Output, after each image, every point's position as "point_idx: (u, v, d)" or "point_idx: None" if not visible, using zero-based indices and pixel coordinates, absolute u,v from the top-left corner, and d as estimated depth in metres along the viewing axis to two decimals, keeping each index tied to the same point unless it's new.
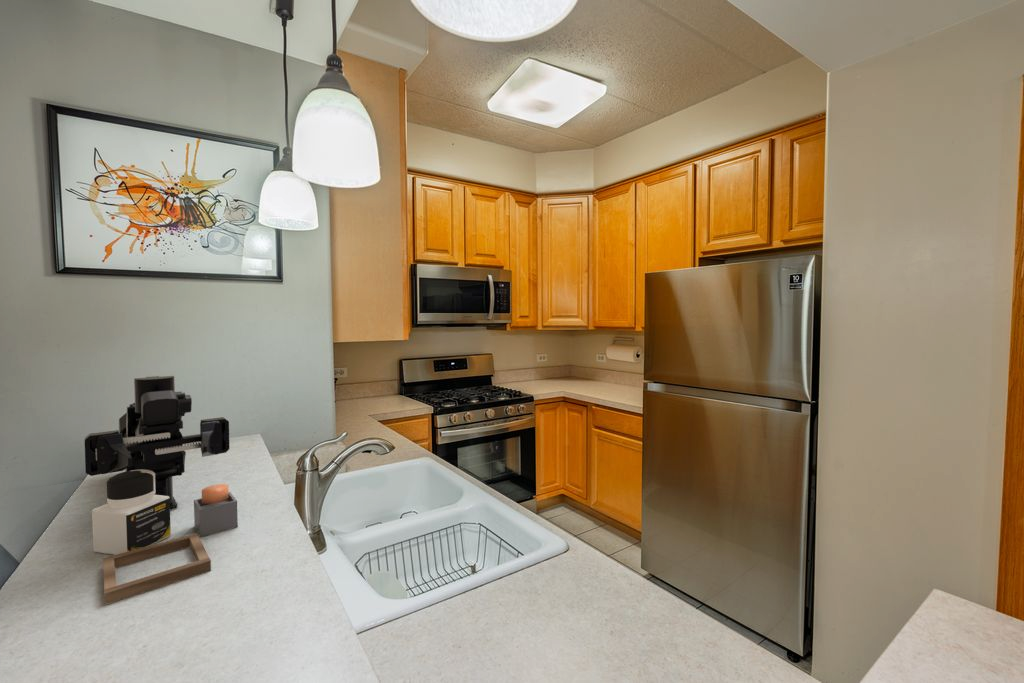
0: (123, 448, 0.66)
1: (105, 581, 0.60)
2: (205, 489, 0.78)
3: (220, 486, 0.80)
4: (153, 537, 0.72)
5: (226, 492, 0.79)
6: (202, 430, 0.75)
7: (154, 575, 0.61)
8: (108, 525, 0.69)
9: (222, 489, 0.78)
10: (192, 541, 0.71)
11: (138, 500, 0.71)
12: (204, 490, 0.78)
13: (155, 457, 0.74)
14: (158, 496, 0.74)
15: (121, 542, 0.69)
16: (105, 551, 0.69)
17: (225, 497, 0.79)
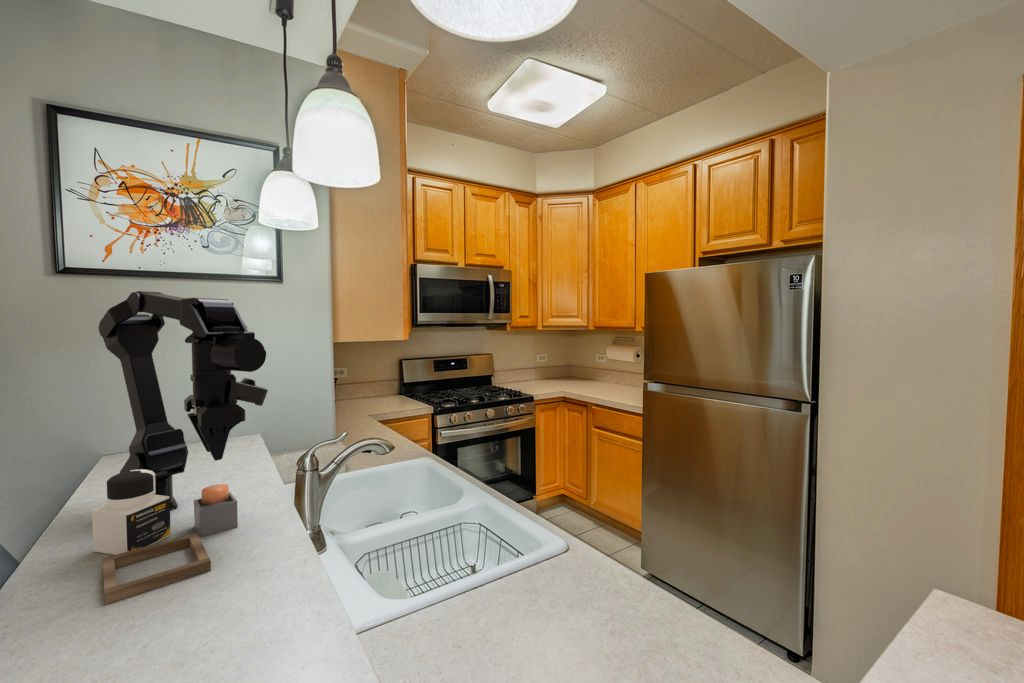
0: None
1: (105, 581, 0.60)
2: (205, 489, 0.78)
3: (220, 486, 0.80)
4: (153, 537, 0.72)
5: (226, 492, 0.79)
6: None
7: (154, 575, 0.61)
8: (109, 525, 0.69)
9: (222, 489, 0.78)
10: (192, 541, 0.71)
11: (138, 500, 0.71)
12: (204, 490, 0.78)
13: None
14: (158, 496, 0.74)
15: (121, 542, 0.69)
16: (105, 551, 0.69)
17: (225, 497, 0.79)
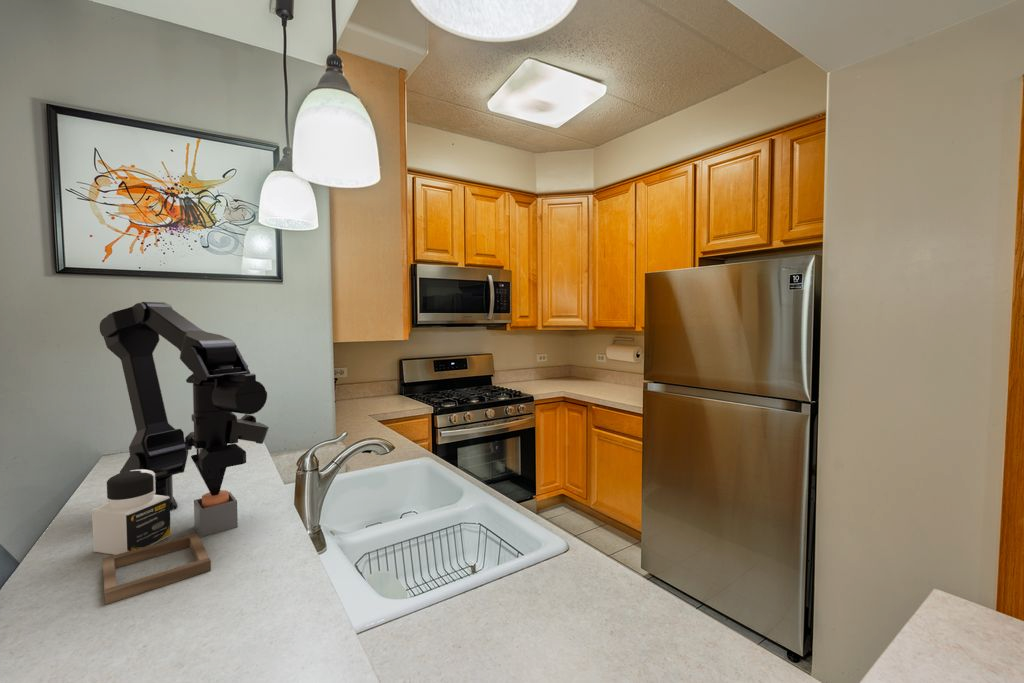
0: None
1: (105, 581, 0.60)
2: (205, 495, 0.78)
3: (220, 492, 0.80)
4: (153, 537, 0.72)
5: (226, 498, 0.79)
6: None
7: (154, 575, 0.61)
8: (109, 525, 0.69)
9: (222, 495, 0.78)
10: (192, 541, 0.71)
11: (138, 500, 0.71)
12: (204, 496, 0.78)
13: None
14: (158, 496, 0.74)
15: (121, 542, 0.69)
16: (105, 551, 0.69)
17: None
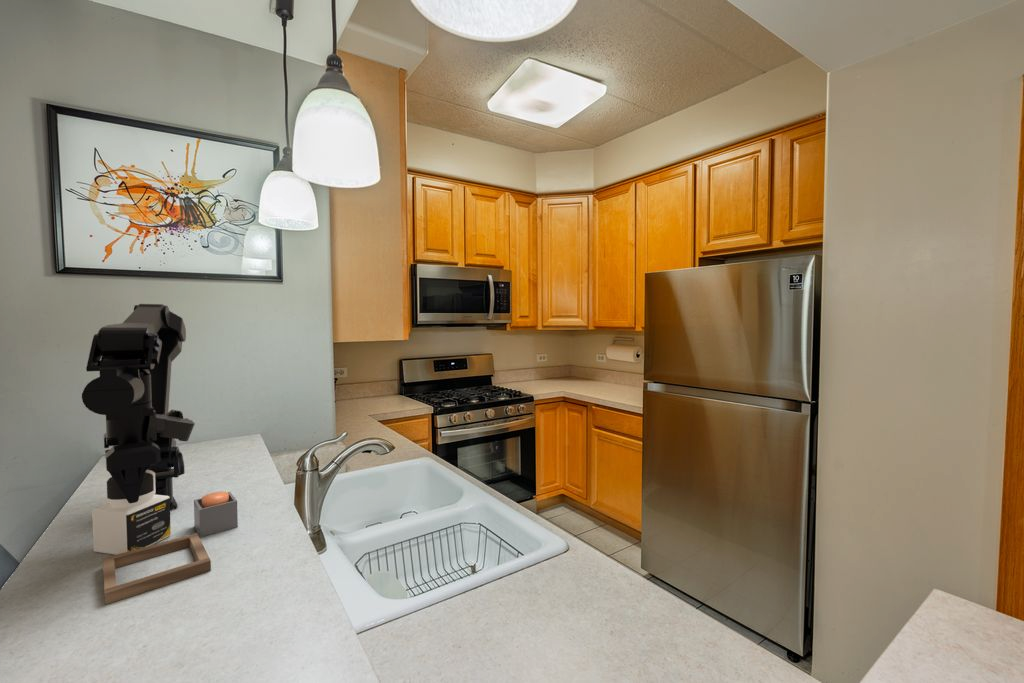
0: None
1: (105, 581, 0.60)
2: (205, 497, 0.78)
3: (220, 493, 0.80)
4: (153, 536, 0.72)
5: (226, 499, 0.79)
6: None
7: (154, 575, 0.61)
8: (109, 525, 0.69)
9: (222, 496, 0.78)
10: (192, 541, 0.71)
11: (138, 500, 0.71)
12: (204, 498, 0.78)
13: None
14: (158, 496, 0.74)
15: (121, 542, 0.69)
16: (105, 551, 0.69)
17: None
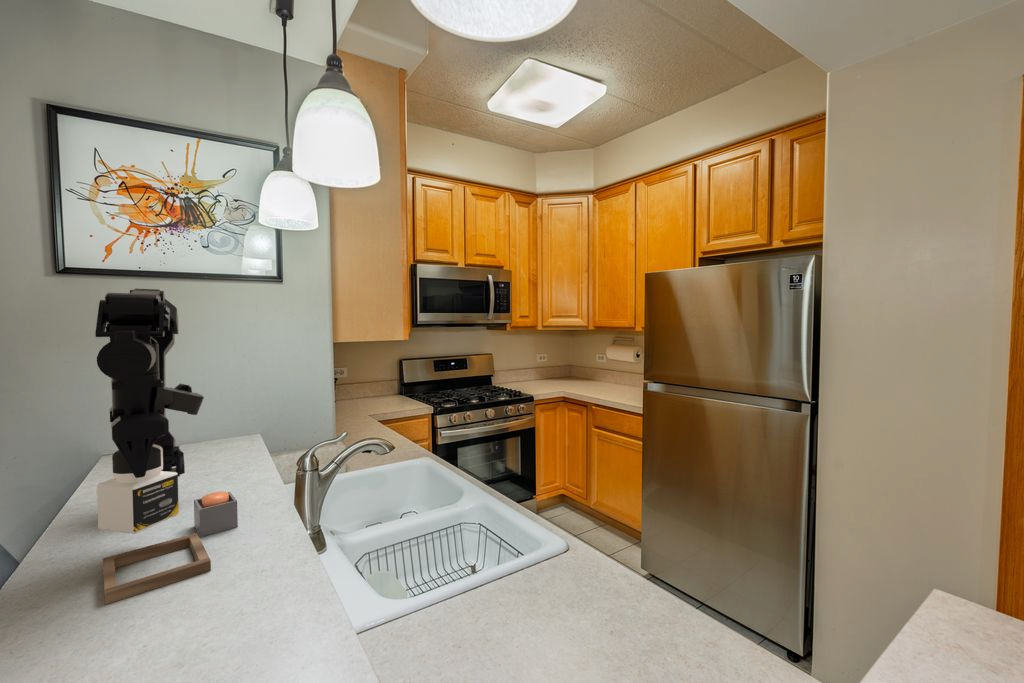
0: None
1: (105, 581, 0.60)
2: (205, 497, 0.78)
3: (220, 493, 0.80)
4: (160, 514, 0.69)
5: (226, 499, 0.79)
6: None
7: (154, 575, 0.61)
8: (114, 501, 0.66)
9: (222, 496, 0.78)
10: (192, 541, 0.71)
11: (145, 475, 0.67)
12: (204, 498, 0.78)
13: None
14: (166, 472, 0.71)
15: (127, 518, 0.65)
16: (110, 528, 0.66)
17: None
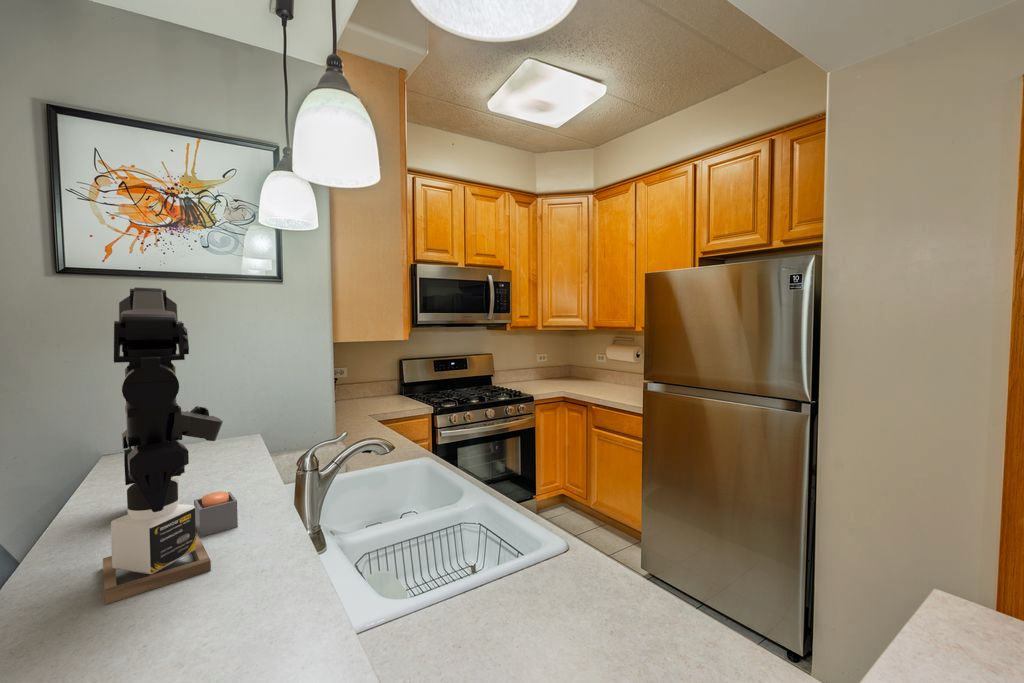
0: None
1: (105, 581, 0.60)
2: (205, 497, 0.78)
3: (220, 493, 0.80)
4: (178, 551, 0.65)
5: (226, 499, 0.79)
6: None
7: (154, 575, 0.61)
8: (129, 539, 0.62)
9: (222, 496, 0.78)
10: None
11: (162, 511, 0.64)
12: (204, 498, 0.78)
13: None
14: (183, 506, 0.67)
15: (143, 558, 0.61)
16: (125, 568, 0.62)
17: None
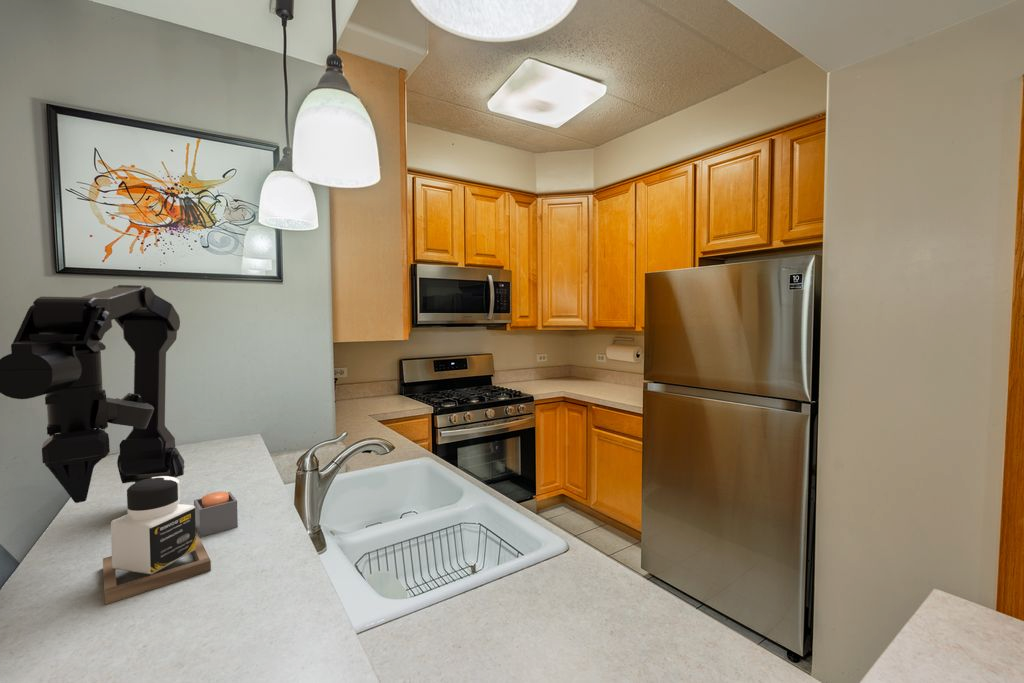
0: None
1: (105, 581, 0.60)
2: (205, 497, 0.78)
3: (220, 493, 0.80)
4: (178, 551, 0.65)
5: (226, 499, 0.79)
6: None
7: (154, 575, 0.61)
8: (129, 539, 0.62)
9: (222, 496, 0.78)
10: None
11: (162, 511, 0.64)
12: (204, 498, 0.78)
13: None
14: (183, 506, 0.67)
15: (143, 558, 0.61)
16: (125, 568, 0.62)
17: None
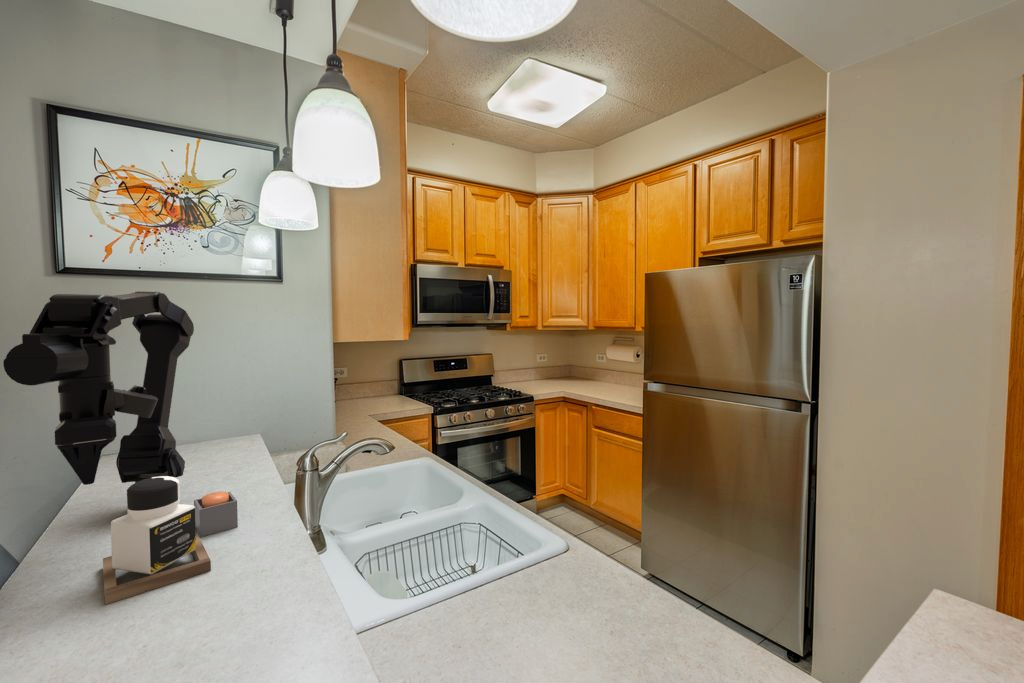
0: None
1: (105, 581, 0.60)
2: (205, 497, 0.78)
3: (220, 493, 0.80)
4: (178, 551, 0.65)
5: (226, 499, 0.79)
6: None
7: (154, 575, 0.61)
8: (129, 539, 0.62)
9: (222, 496, 0.78)
10: None
11: (162, 511, 0.64)
12: (204, 498, 0.78)
13: None
14: (183, 506, 0.67)
15: (143, 558, 0.61)
16: (125, 568, 0.62)
17: None
